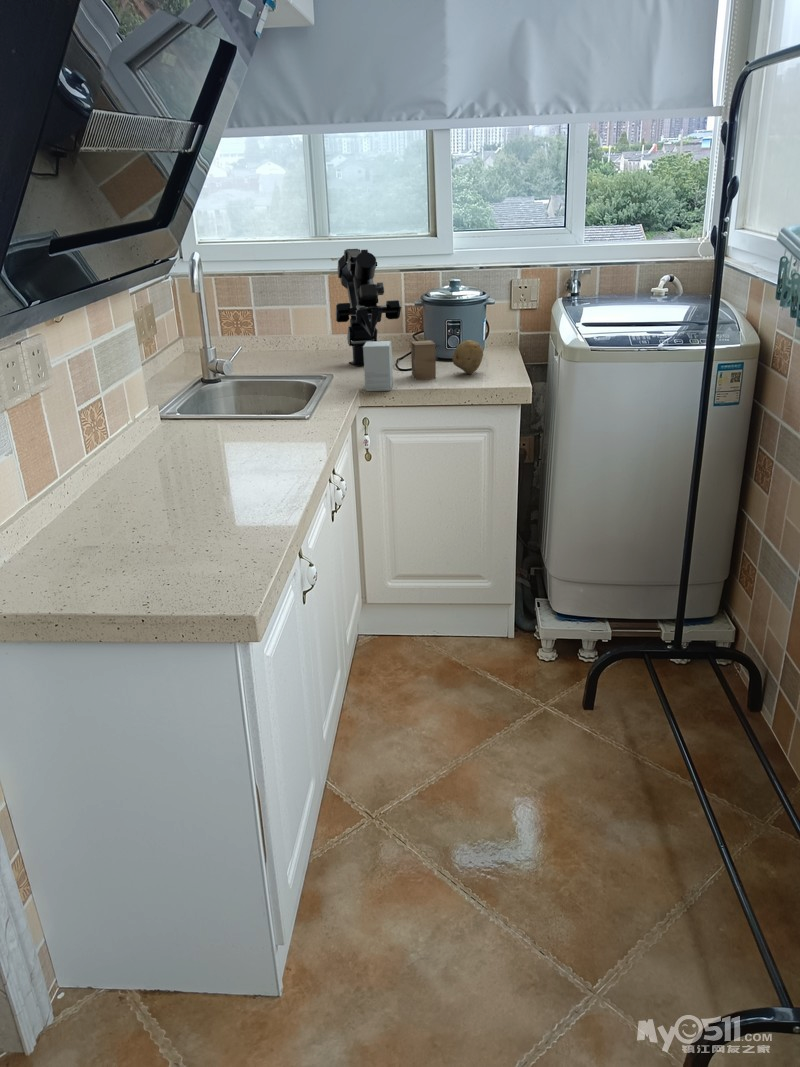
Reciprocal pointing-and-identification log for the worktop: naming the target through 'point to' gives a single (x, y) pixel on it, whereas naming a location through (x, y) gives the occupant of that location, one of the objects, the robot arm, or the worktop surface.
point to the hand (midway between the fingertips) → (372, 335)
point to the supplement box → (378, 365)
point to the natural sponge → (468, 356)
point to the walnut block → (423, 359)
